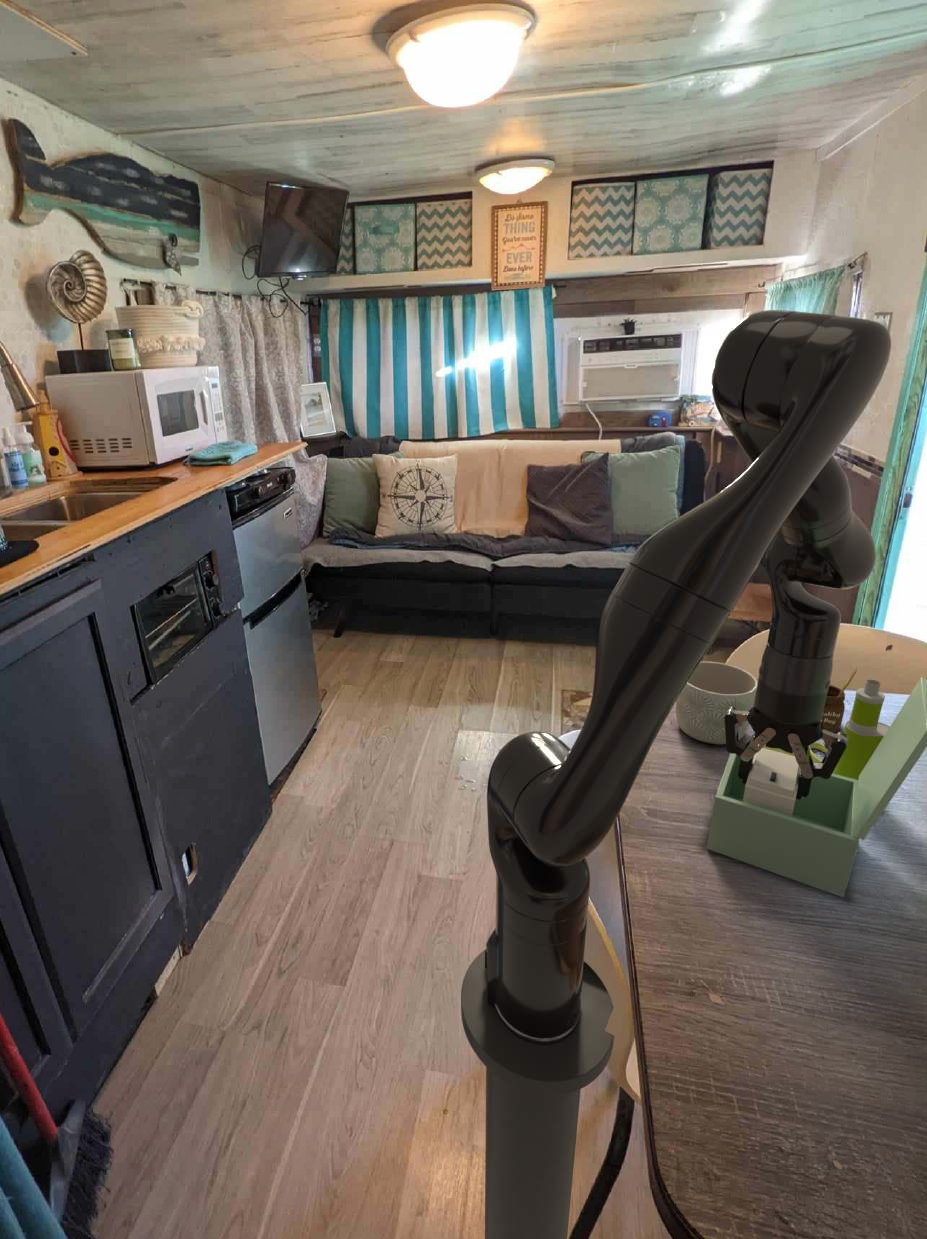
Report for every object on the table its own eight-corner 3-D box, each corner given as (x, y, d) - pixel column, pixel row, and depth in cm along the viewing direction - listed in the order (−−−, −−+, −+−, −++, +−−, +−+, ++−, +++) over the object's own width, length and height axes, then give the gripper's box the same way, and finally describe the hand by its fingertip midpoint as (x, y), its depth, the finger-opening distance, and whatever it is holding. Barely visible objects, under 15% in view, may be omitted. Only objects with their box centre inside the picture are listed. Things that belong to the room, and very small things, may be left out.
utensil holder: (802, 712, 118) (814, 654, 114) (843, 722, 114) (857, 662, 110) (798, 727, 114) (810, 667, 109) (840, 738, 110) (855, 676, 106)
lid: (927, 729, 68) (986, 752, 66) (920, 677, 79) (972, 695, 76) (855, 837, 76) (906, 860, 74) (858, 776, 86) (903, 795, 84)
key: (753, 754, 107) (755, 744, 106) (819, 745, 109) (822, 734, 108) (785, 781, 100) (787, 770, 100) (854, 770, 102) (857, 759, 101)
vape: (823, 790, 98) (850, 675, 91) (867, 794, 97) (899, 677, 89) (834, 806, 94) (863, 688, 87) (880, 810, 93) (913, 690, 86)
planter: (746, 759, 106) (756, 702, 102) (666, 740, 112) (673, 685, 108) (751, 723, 116) (761, 669, 112) (677, 707, 122) (684, 655, 118)
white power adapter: (791, 819, 82) (797, 790, 80) (742, 804, 85) (747, 776, 83) (798, 778, 89) (804, 751, 88) (753, 765, 92) (757, 739, 91)
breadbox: (706, 848, 88) (715, 796, 85) (724, 794, 98) (732, 746, 95) (843, 897, 79) (858, 841, 76) (847, 832, 90) (861, 780, 86)
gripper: (863, 680, 80) (836, 791, 86) (734, 654, 88) (718, 758, 94) (862, 707, 74) (833, 823, 80) (725, 677, 82) (708, 785, 88)
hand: (771, 787), depth 87 cm, fingers closed on white power adapter, 5 cm apart
